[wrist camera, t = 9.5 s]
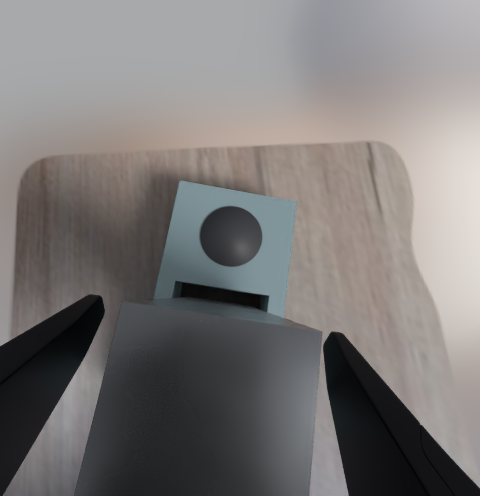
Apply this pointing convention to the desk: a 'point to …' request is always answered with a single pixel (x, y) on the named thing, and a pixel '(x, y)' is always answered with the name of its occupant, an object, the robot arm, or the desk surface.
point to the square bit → (204, 403)
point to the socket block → (228, 244)
